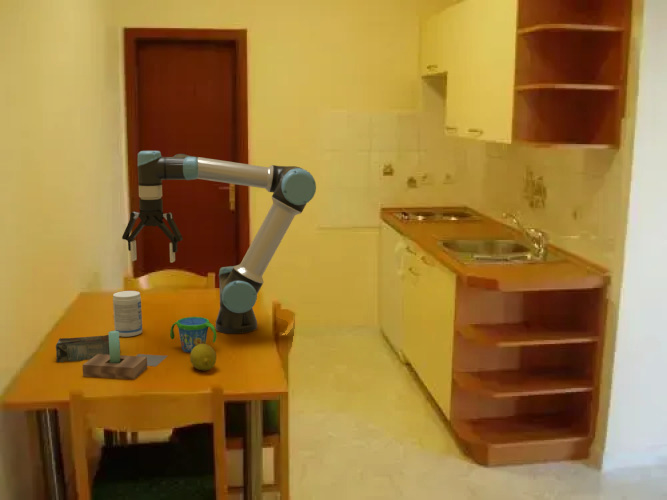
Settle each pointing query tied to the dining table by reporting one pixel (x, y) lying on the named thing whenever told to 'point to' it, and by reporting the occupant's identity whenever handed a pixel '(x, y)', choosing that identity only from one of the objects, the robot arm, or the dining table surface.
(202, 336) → the snack cup
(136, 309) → the supplement tub
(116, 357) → the peg
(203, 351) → the lemon
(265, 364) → the dining table surface
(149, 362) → the mat
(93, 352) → the beverage carton
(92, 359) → the block
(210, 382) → the dining table surface
